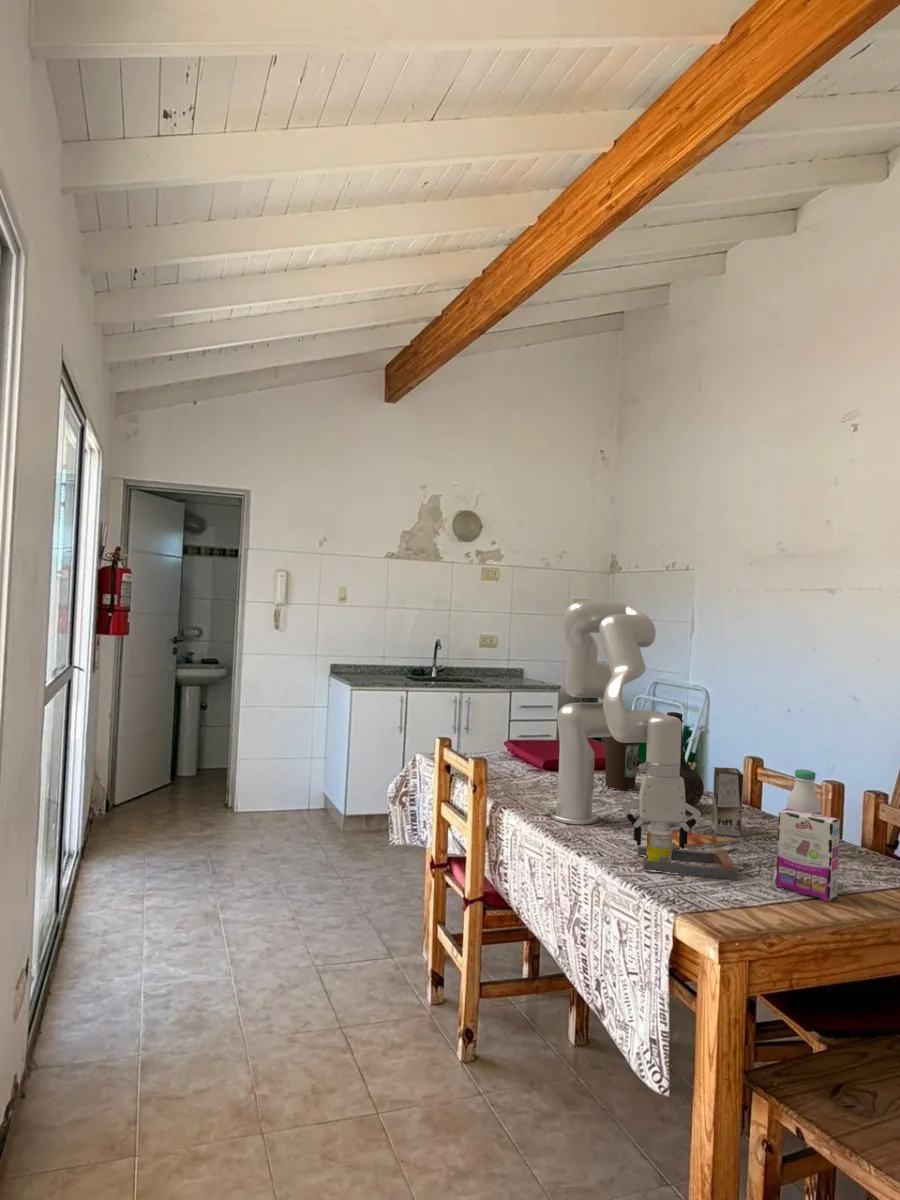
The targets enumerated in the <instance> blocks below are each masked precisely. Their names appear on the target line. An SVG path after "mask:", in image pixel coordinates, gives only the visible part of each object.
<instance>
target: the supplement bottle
mask: <svg viewBox="0 0 900 1200" xmlns="http://www.w3.org/2000/svg"><path fill="white" fill-rule="evenodd" d="M650 824H651V826H649V827H648V826H647V827H648V829H647V830H646V831H647V832H646V847H647V853H646V857H645V858H646V859H645V861H656V862H668V863H672V859H671V856H672V830H673V829H671V828H670V823H664V822H651V821H650Z"/></svg>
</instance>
